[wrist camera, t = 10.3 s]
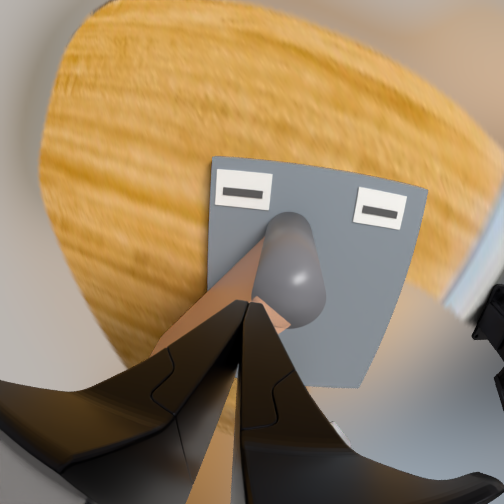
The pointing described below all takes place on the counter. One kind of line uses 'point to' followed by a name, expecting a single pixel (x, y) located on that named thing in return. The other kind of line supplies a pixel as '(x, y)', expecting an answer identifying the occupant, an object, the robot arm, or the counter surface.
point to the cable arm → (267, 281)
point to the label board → (323, 252)
